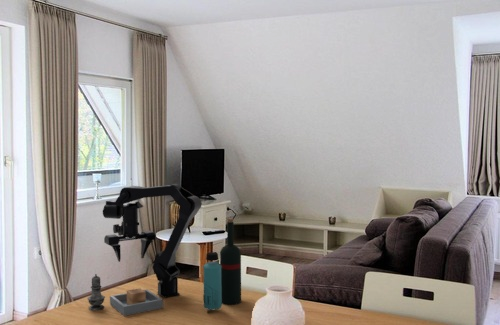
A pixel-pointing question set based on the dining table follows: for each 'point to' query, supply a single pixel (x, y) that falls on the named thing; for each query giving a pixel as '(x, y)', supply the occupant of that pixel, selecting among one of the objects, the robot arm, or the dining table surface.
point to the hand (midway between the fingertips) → (130, 259)
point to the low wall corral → (121, 304)
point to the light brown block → (136, 296)
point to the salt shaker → (96, 295)
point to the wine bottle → (230, 269)
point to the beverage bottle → (212, 282)
